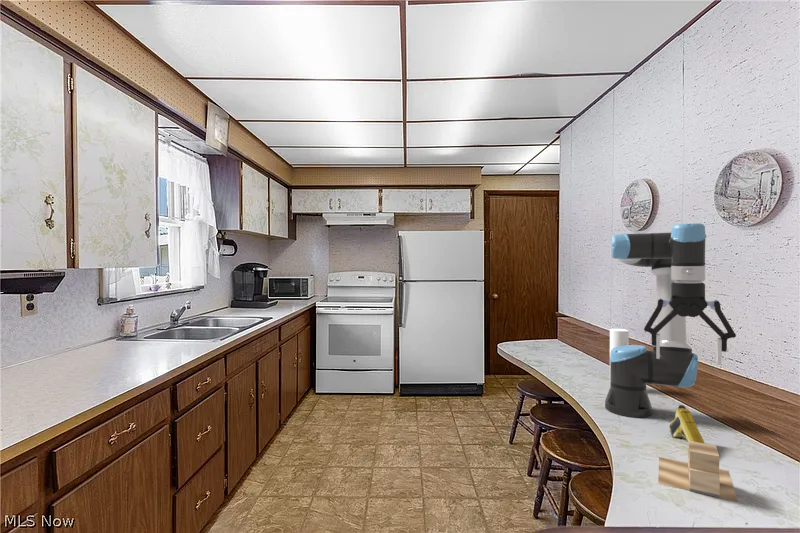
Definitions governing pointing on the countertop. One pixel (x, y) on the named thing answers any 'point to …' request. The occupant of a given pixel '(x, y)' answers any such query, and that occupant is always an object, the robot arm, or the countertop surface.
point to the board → (677, 477)
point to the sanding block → (703, 469)
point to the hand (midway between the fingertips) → (687, 360)
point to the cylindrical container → (618, 338)
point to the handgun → (685, 426)
